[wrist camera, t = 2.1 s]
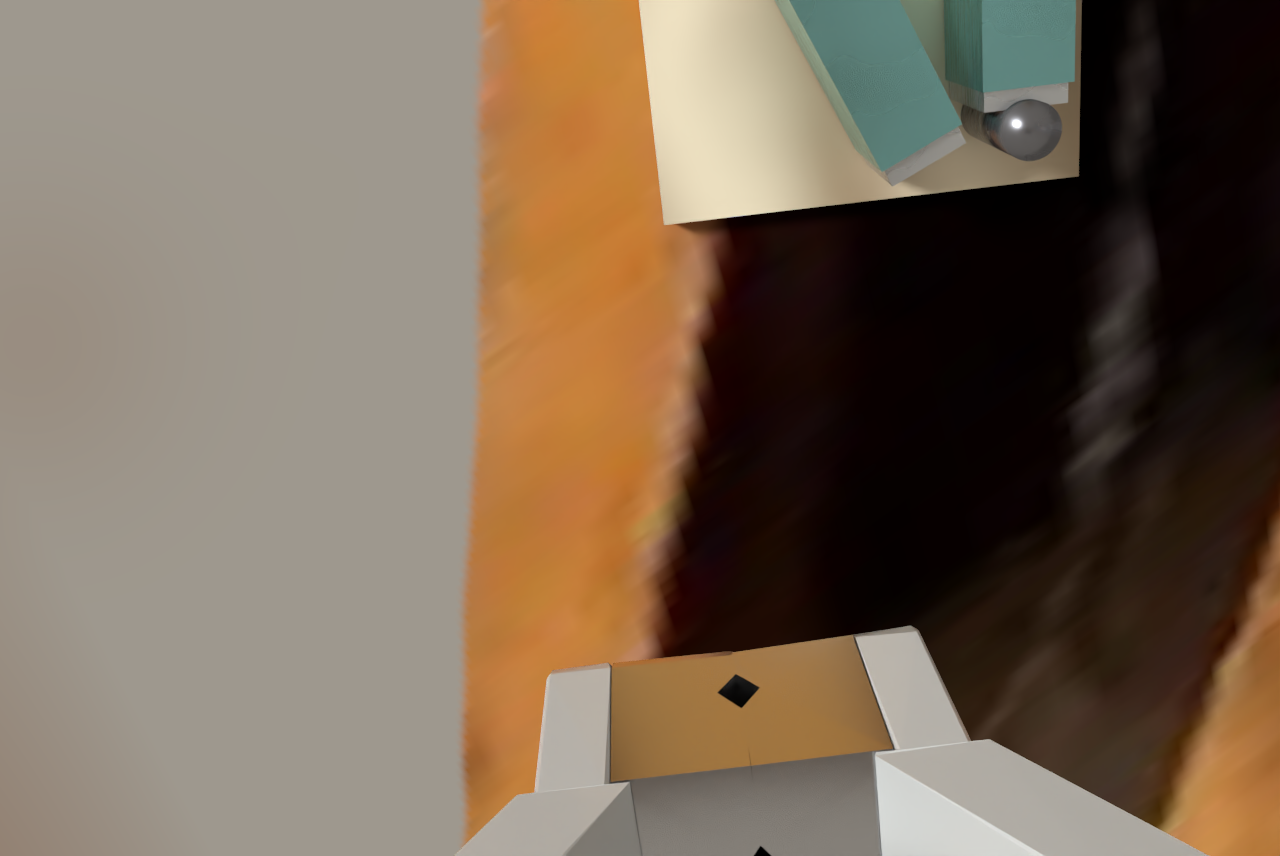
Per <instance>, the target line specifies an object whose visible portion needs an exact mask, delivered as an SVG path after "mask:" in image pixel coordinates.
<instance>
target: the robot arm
mask: <svg viewBox="0 0 1280 856" xmlns="http://www.w3.org/2000/svg"><path fill="white" fill-rule="evenodd" d="M454 856H1208V855H1206V854H1205V853H1203V852H1201V851H1199V850H1197V849H1195V848H1193V847H1191V846H1190V845H1188V844H1186V843H1184V842H1182V841H1180V840H1178V839H1176V838H1174V837H1173V836H1171V835H1169V834H1167V833H1165V832H1163V831H1161V830H1159V829H1157V828H1156V827H1154V826H1152V825H1150V824H1148V823H1146V822H1144V821H1142V820H1141V819H1139V818H1137V817H1135V816H1133V815H1131V814H1129V813H1127V812H1125V811H1124V810H1122V809H1120V808H1118V807H1116V806H1114V805H1112V804H1110V803H1108V802H1107V801H1105V800H1103V799H1101V798H1099V797H1097V796H1095V795H1093V794H1092V793H1090V792H1088V791H1086V790H1084V789H1082V788H1080V787H1078V786H1076V785H1075V784H1073V783H1071V782H1069V781H1067V780H1065V779H1063V778H1061V777H1059V776H1058V775H1056V774H1054V773H1052V772H1050V771H1048V770H1046V769H1044V768H1043V767H1041V766H1039V765H1037V764H1035V763H1033V762H1031V761H1029V760H1027V759H1026V758H1024V757H1022V756H1020V755H1018V754H1016V753H1014V752H1012V751H1010V750H1009V749H1007V748H1005V747H1003V746H1001V745H999V744H997V743H995V742H994V741H992V740H989V739H988V740H979V741H971V740H970V738H969V736H968V734H967V732H966V729H965V727H964V725H963V723H962V721H961V719H960V717H959V715H958V713H957V710H956V708H955V706H954V704H953V702H952V700H951V698H950V696H949V694H948V692H947V689H946V687H945V685H944V683H943V681H942V679H941V677H940V675H939V673H938V670H937V668H936V666H935V664H934V662H933V660H932V658H931V656H930V654H929V651H928V649H927V647H926V645H925V643H924V641H923V639H922V637H921V635H920V633H919V630H917V629H916V628H914V627H912V626H906V627H899V628H893V629H887V630H881V631H875V632H869V633H862V634H856V635H849V636H843V637H836V638H829V639H822V640H815V641H808V642H802V643H795V644H788V645H781V646H774V647H767V648H761V649H754V650H747V651H740V652H733V653H732V651H728V652H718V653H708V654H698V655H688V656H679V657H669V658H659V659H649V660H639V661H629V662H619V663H613V666H611V665H610V664H609V663H603V664H596V665H589V666H581V667H574V668H567V669H559V670H553V671H552V672H551V673H550V675H549V676H548V678H547V682H546V691H545V700H544V710H543V719H542V728H541V737H540V746H539V755H538V765H537V774H536V783H535V792H534V793H529V794H521V795H517V796H515V797H514V798H513V799H512V800H511V801H510V802H509V803H508V804H507V805H506V806H505V807H504V808H503V809H502V810H501V811H500V812H499V813H498V814H497V815H496V816H494V817H493V818H492V819H491V820H490V821H489V822H488V823H487V824H486V825H485V826H484V827H483V828H482V829H481V830H480V831H479V832H478V833H477V834H476V835H475V836H474V837H473V838H472V839H471V840H470V841H468V842H467V843H466V844H465V845H464V846H463V847H462V848H461V849H460V850H459V851H458V852H457V853H456V854H455V855H454Z"/></svg>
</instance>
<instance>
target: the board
mask: <svg viewBox="0 0 1280 856" xmlns="http://www.w3.org/2000/svg"><path fill="white" fill-rule="evenodd" d="M900 2H901V4H902V6H903V8H904V10H905V12H906V14H907V16H908V18H909V20H910V22H911V24H912V26H913V28H914V30H915V32H916V34H917V36H918V38H919V40H920V42H921V44H922V46H923V48H924V49H925V51H926V53H927V55H928V57H929V59H930V61H931V63H932V65H933V67H934V69H935V71H936V73H937V75H938V77H939V79H940V81H941V83H942V85H943V87H944V89H945V91H946V93H947V95H948V97H949V81H948V80H946V78H945V35H944V0H900ZM639 7H640V16H641V25H642V33H643V42H644V51H645V60H646V69H647V78H648V87H649V96H650V105H651V114H652V122H653V131H654V140H655V149H656V158H657V167H658V176H659V185H660V194H661V202H662V211H663V220H664V225H669V224H678V223H686V222H695V221H703V220H712V219H720V218H729V217H737V216H746V215H754V214H763V213H771V212H780V211H788V210H797V209H805V208H814V207H822V206H831V205H839V204H848V203H856V202H865V201H873V200H881V199H890V198H898V197H907V196H915V195H924V194H932V193H941V192H949V191H958V190H966V189H975V188H983V187H992V186H1000V185H1009V184H1017V183H1026V182H1034V181H1043V180H1051V179H1060V178H1068V177H1077V176H1079V132H1080V74H1081V16H1082V0H1076V24H1075V82H1068V103H1061V104H1053V105H1051V106H1052V107H1053V108H1054V109H1055V110H1056V111H1057V112H1058V114H1059V116H1060V118H1061V122H1062V134H1061V137H1060V140H1059V142H1058V144H1057V146H1056V147H1055V148H1054V150H1053V151H1052V152H1051V153H1050V154H1048V155H1047V156H1045V157H1044V158H1042V159H1039V160H1036V161H1023V160H1019V159H1017V158H1015V157H1013V156H1011V155H1009V154H1007V153H1005V152H1003V151H1001V150H999V149H997V148H995V147H992V146H990V145H988V144H986V143H984V142H982V141H980V140H978V139H976V138H974V137H972V136H971V135H969V134H968V133H967V132H966V131H965V129H964V128H963V125H960V126H958V127H959V129H960V131H961V133H962V135H963V137H964V139H965V141H966V143H965V144H964V145H962V146H960V147H959V148H957V149H955V150H954V151H952V152H950V153H948V154H947V155H945V156H943V157H942V158H940V159H938V160H937V161H935V162H933V163H932V164H930V165H928V166H927V167H925V168H923V169H922V170H920V171H918V172H917V173H915V174H913V175H911V176H910V177H908V178H906V179H905V180H903V181H901V182H900V183H898V184H896V185H895V186H893V187H892V186H891V185H890V184H889V183H888V182H887V181H885V180H884V179H883V178H882V177H881V176H880V175H878V174H877V173H876V172H875V171H874V170H873V169H871V168H870V167H869V166H868V165H867V164H866V162H865V160H864V158H863V156H862V155H861V154H859V153H858V152H857V151H856V150H855V148H854V146H853V144H852V142H851V140H850V139H849V137H848V135H847V133H846V131H845V129H844V128H843V126H842V124H841V122H840V120H839V118H838V117H837V115H836V113H835V111H834V109H833V107H832V105H831V104H830V102H829V100H828V98H827V96H826V94H825V93H824V91H823V89H822V87H821V85H820V83H819V82H818V80H817V78H816V76H815V74H814V72H813V70H812V69H811V67H810V65H809V63H808V61H807V59H806V58H805V56H804V54H803V52H802V50H801V48H800V47H799V45H798V43H797V41H796V39H795V37H794V35H793V34H792V32H791V30H790V28H789V26H788V24H787V23H786V21H785V19H784V17H783V15H782V13H781V12H780V10H779V8H778V6H777V4H776V2H775V0H639ZM950 101H951V103H952V105H953V107H954V109H955V111H956V113H957V115H958V117H959V119H960V121H961V109H962V105H963V104H961V103H959V102H956V101H954V100H951V99H950Z"/></svg>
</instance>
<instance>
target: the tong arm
mask: <svg viewBox="0 0 1280 856" xmlns="http://www.w3.org/2000/svg"><path fill="white" fill-rule="evenodd" d="M775 2H776V4H777V6H778V8H779V10H780V12H781V13H782V15H783V17H784V19H785V21H786V23H787V24H788V26H789V28H790V30H791V32H792V34H793V35H794V37H795V39H796V41H797V43H798V45H799V47H800V48H801V50H802V52H803V54H804V56H805V58H806V59H807V61H808V63H809V65H810V67H811V69H812V70H813V72H814V74H815V76H816V78H817V80H818V82H819V83H820V85H821V87H822V89H823V91H824V93H825V94H826V96H827V98H828V100H829V102H830V104H831V105H832V107H833V109H834V111H835V113H836V115H837V117H838V118H839V120H840V122H841V124H842V126H843V128H844V129H845V131H846V133H847V135H848V137H849V139H850V140H851V142H852V144H853V146H854V148H855V150H856V151H857V152H858V153H859V154H861V155H862V156H863V158H864V160H865V162H866V164H867V165H868V166H869V167H870V168H871V169H873V170H874V171H875V172H876V173H877V174H878V175H880V176H881V177H882V178H883V179H884V180H885V181H887V182H888V183H889V184H890V185H891V186H892V187H893V186H895V185H896V184H898V183H900V182H901V181H903V180H905V179H906V178H908V177H910V176H911V175H913V174H915V173H917V172H918V171H920V170H922V169H923V168H925V167H927V166H928V165H930V164H932V163H933V162H935V161H937V160H938V159H940V158H942V157H943V156H945V155H947V154H948V153H950V152H952V151H954V150H955V149H957V148H959V147H960V146H962V145H964V144H965V143H966V141H965V139H964V137H963V135H962V133H961V131H960V129H959V127H958V126H960V125H962V123H961V121H960V119H959V117H958V115H957V113H956V111H955V109H954V107H953V105H952V103H951V101H950V99H949V97H948V95H947V93H946V91H945V89H944V87H943V85H942V83H941V81H940V79H939V77H938V75H937V73H936V71H935V69H934V67H933V65H932V63H931V61H930V59H929V57H928V55H927V53H926V51H925V49H924V48H923V46H922V44H921V42H920V40H919V38H918V36H917V34H916V32H915V30H914V28H913V26H912V24H911V22H910V20H909V18H908V16H907V14H906V12H905V10H904V8H903V6H902V4H901V2H900V0H775Z"/></svg>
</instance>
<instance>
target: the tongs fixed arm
mask: <svg viewBox="0 0 1280 856" xmlns="http://www.w3.org/2000/svg"><path fill="white" fill-rule="evenodd" d="M1075 24H1076V0H944V35H945V78H946V80H948V81H949V99H951V100H954V101H956V102H959V103H961V104H963V105H962V109H961V123H962V125H963V128H964V129H965V131H966V132H967V133H968V134H969V135H971V136H972V137H974V138H976V139H978V140H980V141H982V142H984V143H986V144H988V145H990V146H992V147H995V148H997V149H999V150H1001V151H1003V152H1005V153H1007V154H1009V155H1011V156H1013V157H1015V158H1017V159H1019V160H1023V161H1036V160H1039V159H1042V158H1044V157H1045V156H1047V155H1048V154H1050V153H1051V152H1052V151H1053V150H1054V148H1055V147H1056V146H1057V144H1058V142H1059V140H1060V137H1061V134H1062V122H1061V118H1060V116H1059V114H1058V112H1057V111H1056V110H1055V109H1054V108H1053V107H1052V106H1051V105H1053V104H1061V103H1068V82H1075Z"/></svg>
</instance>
